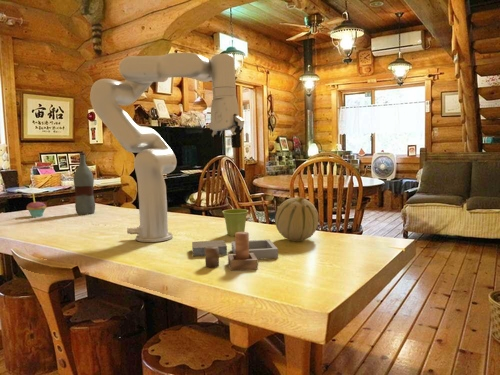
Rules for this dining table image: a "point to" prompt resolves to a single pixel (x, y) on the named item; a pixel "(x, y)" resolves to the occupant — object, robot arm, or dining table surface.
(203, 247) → the grey rectangular block
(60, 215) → the dining table surface
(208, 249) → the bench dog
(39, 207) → the cupcake
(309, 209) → the cantaloupe
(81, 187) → the bottle
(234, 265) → the socket block
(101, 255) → the dining table surface
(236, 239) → the dowel
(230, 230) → the plant pot
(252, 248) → the tray
